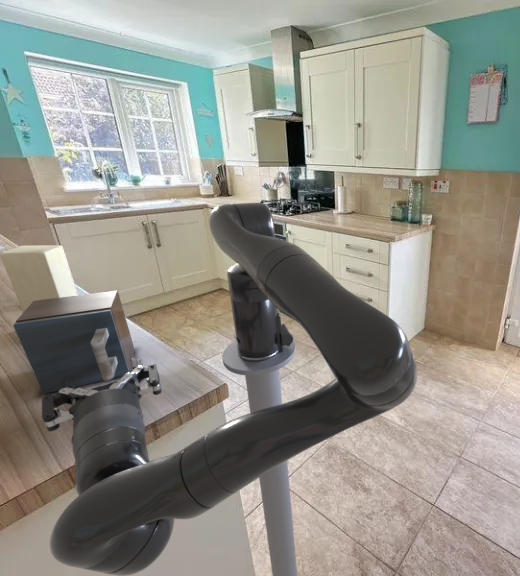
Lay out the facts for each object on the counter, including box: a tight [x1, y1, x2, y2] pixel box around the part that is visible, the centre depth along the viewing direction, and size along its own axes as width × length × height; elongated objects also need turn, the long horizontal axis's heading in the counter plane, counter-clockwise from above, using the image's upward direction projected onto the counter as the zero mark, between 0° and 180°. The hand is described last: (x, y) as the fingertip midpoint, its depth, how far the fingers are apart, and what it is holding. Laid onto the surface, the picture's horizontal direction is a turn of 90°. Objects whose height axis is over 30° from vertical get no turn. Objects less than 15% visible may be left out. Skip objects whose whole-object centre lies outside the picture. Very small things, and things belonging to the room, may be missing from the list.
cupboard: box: [15, 290, 136, 371], centre depth 66 cm, size 9×13×15 cm
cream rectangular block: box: [0, 244, 79, 313], centre depth 77 cm, size 8×7×21 cm
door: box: [12, 309, 131, 395], centre depth 59 cm, size 7×13×15 cm, turn 120°
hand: (104, 370), depth 57 cm, fingers open, 8 cm apart
